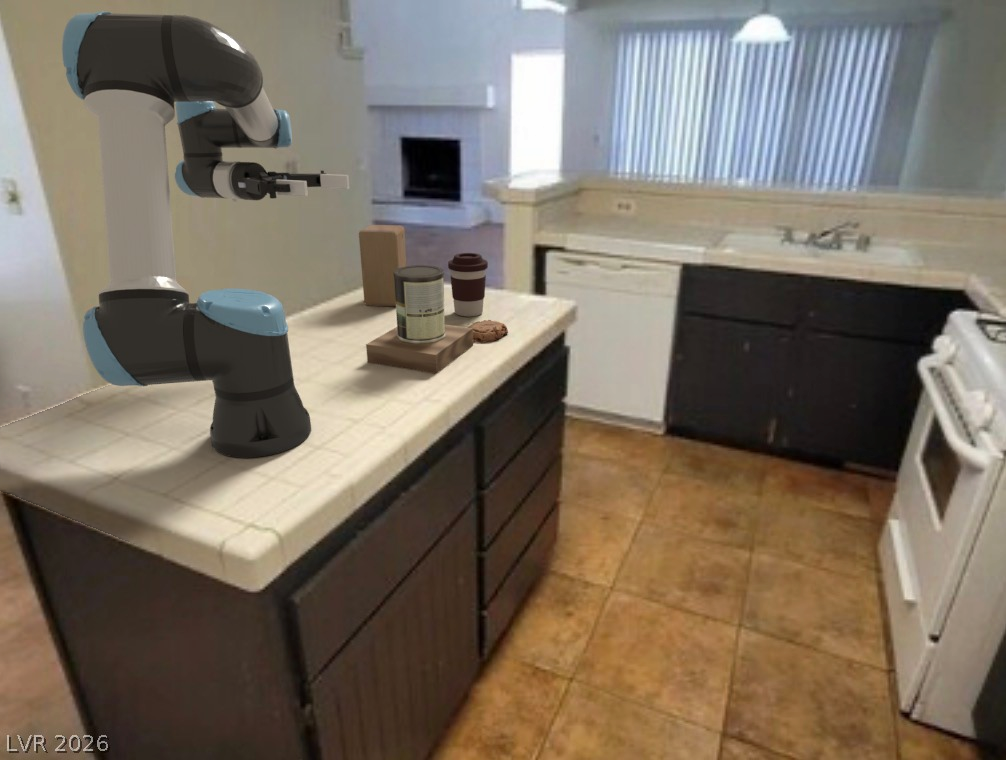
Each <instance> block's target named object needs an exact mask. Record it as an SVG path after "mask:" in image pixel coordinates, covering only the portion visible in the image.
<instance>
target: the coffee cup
mask: <svg viewBox="0 0 1006 760" xmlns="http://www.w3.org/2000/svg"><path fill="white" fill-rule="evenodd" d="M447 264H448V265H447V266H448V267H447V268H448V269H449V271H450V283H451V285H450V286H451V297H452V299H453V307H454V313H455V315H457V316H460V317H466V318H467V317H469V318H471V317H478V316H480V315H482V313H484V312H483V311H484V299H485V297H486V296H485V295H486V278H487V277H486V270H487V269H488V266H489V264H488V260H486V259H485V258H484V259H483V257H482V255H481V254H480V253H476V252H462V253H457V254H454V256H453V258H452V259H450V260H448V263H447Z"/></svg>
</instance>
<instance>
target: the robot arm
mask: <svg viewBox="0 0 1006 760" xmlns="http://www.w3.org/2000/svg"><path fill="white" fill-rule="evenodd" d="M62 35H63V36H62V44H61V45H62V46H61V53H62V54H61V55H62V62H63V63H62V64H63V66H64V68H65V71H66V73H65V75H66V79H67V82H68V84H69V86H70V89H71V91H72V92H73V93H74V95H76V97H77V98H79V99H80V100H82V101H83V103H84V106H85V108H86V110H87V111H88V112H89V113H91V114H92V115H93V116H94V117H95V118H97V124H98V125H97V128H98V141H99V151H100V152H99V153H100V165H101V166H100V167H101V178H102V191H103V193H102V194H103V205H104V218H105V221H104V222H105V233H106V245H107V258H108V272H109V282H108V283H107V284H106V285H105V286H104V287H103V288H102V289H101V290H100V291H99V292H98V303H99V304H98V305H99V306H93V307H92V308H89V309H88V310H87V311H86V312H85V313H84V315H83V319H84V320H83V322H82V332H83V338H84V339H83V340H84V344H85V347H86V351H87V355H88V356H89V359H90V361H91V364H92V365H93V367H94V369H95V370H96V372H97V373H98V375H99V376H100V377H101V378H102V379H103V380H104V381H106V382H107V383H109V384H112V385H113V386H117V387H118V386H119V387H126V386H129V387H130V386H139V387H148V386H150V385H151V386H153V385H164V384H165V385H166V384H167V385H168V384H179V383H190V382H191V383H192V382H193V383H194V382H202V381H203V382H207V381H212V384H213V388H214V395H215V399H214V406H213V413H212V422H211V425H210V426H209V427H210V428H209V435H210V440H211V446H212V447H213V449H214V450H215V451H216V452H218V453H220V454H222V455H224V456H228V457H232V458H242V459H243V458H244V459H247V458H249V459H250V458H262V457H267V456H272V455H273V456H274V455H276V454H279V453H283V452H285V451H288V450H291V449H293V448H294V447H296V446H298V445H300V444H302V443H303V442H304V441H305V440H306V439H308V437H309V436H310V435H311V432H312V424H311V416H310V414H309V412H308V410H307V408H306V407H305V406H304V403H303V401H302V399H301V396H300V395H299V392H298V390H297V388H296V385H295V382H294V381H295V379H294V371H293V366H292V357H291V352H290V342H289V335H288V332H289V325H288V324H287V321H286V315H285V311H284V307H283V304H282V302H281V301H280V300H279V299H278V298H277V297H275V296H273V295H271V294H268V293H267V292H263V291H259V290H254V289H244V288H222V289H212V290H208V291H205V292H202V293H201V294H200V295H199V296H198V299H197V301H196V302H194V303H193V302H192V303H190V294H189V291H187V290H186V289H185V288H184V287H182V285H180V284H179V283H178V281H177V274H176V273H177V272H176V271H177V270H176V259H175V258H176V257H175V246H174V233H173V230H174V229H173V219H172V216H173V215H172V207H171V206H172V205H171V204H172V203H171V191H170V180H169V179H170V178H169V168H168V167H169V166H168V153H167V151H168V150H167V142H166V141H167V140H166V139H167V138H166V128H165V127H166V126H167V125H168V124H169V123H170V122H172V121H173V120H174V119H175V116H176V119H177V120H176V121H177V122H176V124H177V127H178V132H179V137H180V141H181V147H182V153H183V160H181V161H180V162H178V164H177V165H176V168H175V172H174V179H175V183H176V185H177V187H178V188H179V189H180V190H181V191H182V192H183V193H184V194H185V195H188V196H193V197H198V198H208V199H211V198H212V199H213V198H214V199H232V200H231V201H232V202H234V203H236V202H237V201H238V200H244V201H261V200H262V199H264V198H265V197H266V196H268V194H269V199H277V196H294V197H309V192H308V188H318V187H320V188H322V189H335V190H336V189H338V190H350V178H349V177H350V176H349V174H333V173H332V174H330V173H326V172H325V170H320V173H290V172H277V171H274V170H273V171H266V169H265V167H264V166H263V165H261V164H260V163H258V162H250V161H244V162H243V161H234V160H231V161H230V160H223V151H222V149H235V148H236V149H245V148H247V149H248V148H249V149H251V148H252V149H257V148H258V149H259V148H260V149H278V148H289V147H291V146H292V144H293V134H292V133H293V131H292V124H291V123H292V122H291V117H290V114H289V112H288V111H286V110H285V109H277V108H273V106H272V103H271V101H270V99H269V98H268V96H267V94H266V91H265V89H264V87H263V86H264V77H263V72H262V69H261V67H260V65H259V63H258V60H257V59H256V57H255V56H254V54H253V53H252V52H251V50H250V49H249V48H248V47H247V46H246V45H244V43H242V42H241V41H240V40H239V39H238V38H236V37H235V36H234V35H232V34H231V33H230V32H228V31H226V30H225V29H223V28H221V27H219V26H217V25H215V24H213V23H211V22H209V21H207V20H203V19H201V18H198V17H194V16H189V15H187V14H186V15H185V14H183V15H181V14H173V15H172V14H171V15H169V14H167V15H166V14H149V13H148V14H145V13H114V12H110V11H107V10H106V11H105V10H104V11H99V12H84V13H82V12H81V13H77V14H75V15H74V16H73V17H71V18H70V19H69V20H68V21H67V23H66V26H65V27H64V31H63V34H62ZM215 103H217V104H218V105H220V106H222V107H224V108H217V107H216V105H215ZM175 110H176V112H175ZM175 114H176V115H175Z"/></svg>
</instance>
